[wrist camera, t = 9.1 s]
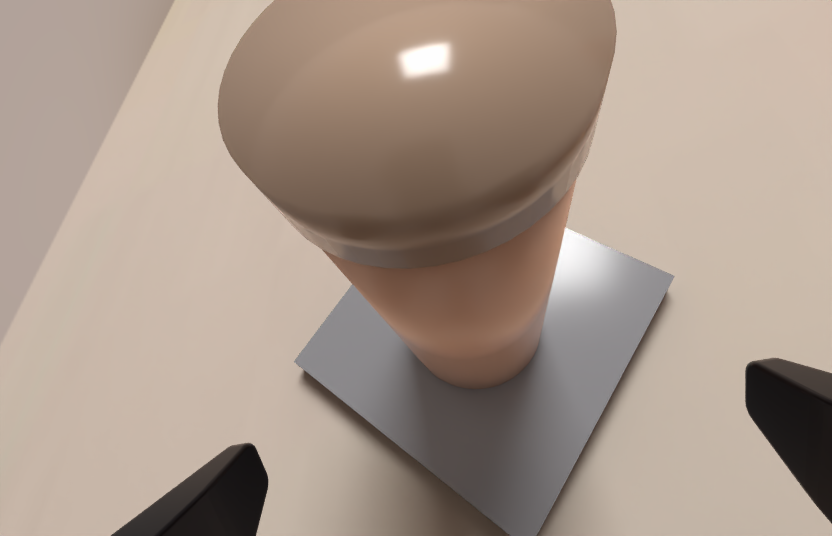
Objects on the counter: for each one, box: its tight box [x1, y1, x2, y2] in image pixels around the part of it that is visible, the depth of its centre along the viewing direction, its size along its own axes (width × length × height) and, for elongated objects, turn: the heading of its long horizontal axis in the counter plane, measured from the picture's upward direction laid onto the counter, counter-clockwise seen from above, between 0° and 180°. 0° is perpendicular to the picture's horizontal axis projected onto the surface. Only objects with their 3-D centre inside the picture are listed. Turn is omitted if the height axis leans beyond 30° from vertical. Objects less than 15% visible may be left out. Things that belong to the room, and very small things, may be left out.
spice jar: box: [218, 0, 617, 389], centre depth 11 cm, size 5×5×12 cm
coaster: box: [294, 228, 674, 536], centre depth 17 cm, size 11×11×1 cm
